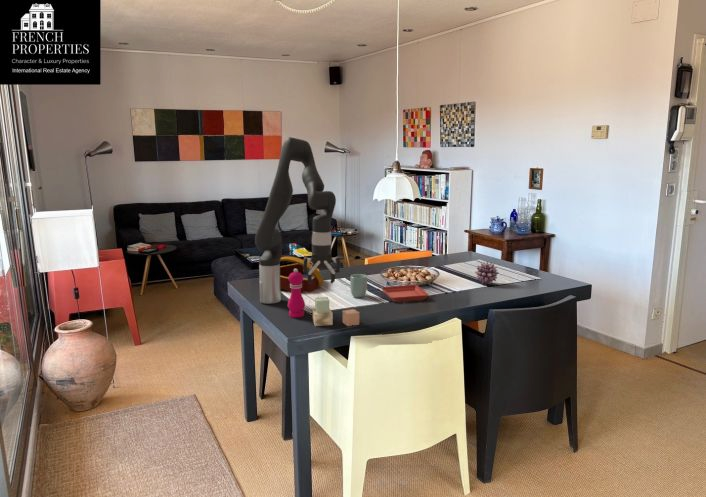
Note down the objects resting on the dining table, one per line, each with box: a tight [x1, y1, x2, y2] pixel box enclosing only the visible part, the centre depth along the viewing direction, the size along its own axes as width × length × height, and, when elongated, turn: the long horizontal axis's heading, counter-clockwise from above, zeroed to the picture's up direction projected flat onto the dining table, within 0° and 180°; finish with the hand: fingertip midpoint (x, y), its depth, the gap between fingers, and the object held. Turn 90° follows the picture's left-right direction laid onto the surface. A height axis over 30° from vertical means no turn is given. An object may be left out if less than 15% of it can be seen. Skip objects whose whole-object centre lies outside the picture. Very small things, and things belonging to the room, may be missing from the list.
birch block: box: [312, 307, 334, 327], centre depth 213 cm, size 7×7×5 cm
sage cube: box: [314, 296, 330, 313], centre depth 212 cm, size 5×5×5 cm
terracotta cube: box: [342, 308, 360, 327], centre depth 212 cm, size 5×5×5 cm
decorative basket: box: [280, 255, 324, 293], centre depth 271 cm, size 34×29×15 cm
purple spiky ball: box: [474, 261, 500, 285], centre depth 273 cm, size 12×12×12 cm
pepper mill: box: [287, 269, 306, 319], centre depth 221 cm, size 7×7×20 cm
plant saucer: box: [380, 284, 430, 303], centre depth 251 cm, size 18×18×3 cm
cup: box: [349, 273, 368, 299], centre depth 250 cm, size 8×8×10 cm
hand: (321, 283), depth 210 cm, fingers open, 8 cm apart
